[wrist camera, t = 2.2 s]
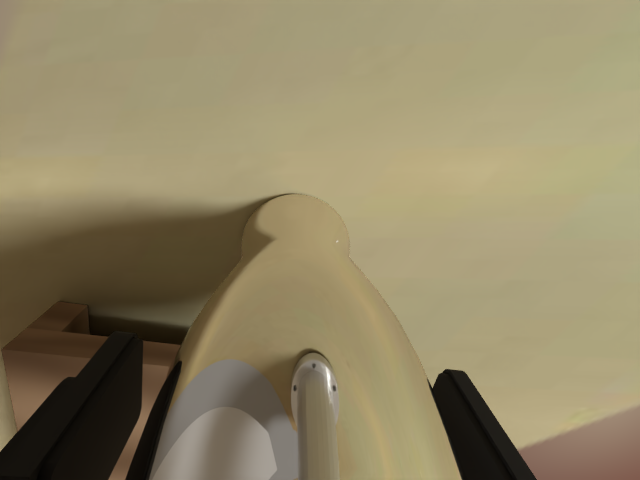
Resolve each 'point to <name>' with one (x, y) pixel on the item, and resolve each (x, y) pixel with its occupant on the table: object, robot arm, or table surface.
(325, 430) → the beer glass
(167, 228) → the table surface
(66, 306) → the walnut shelf
